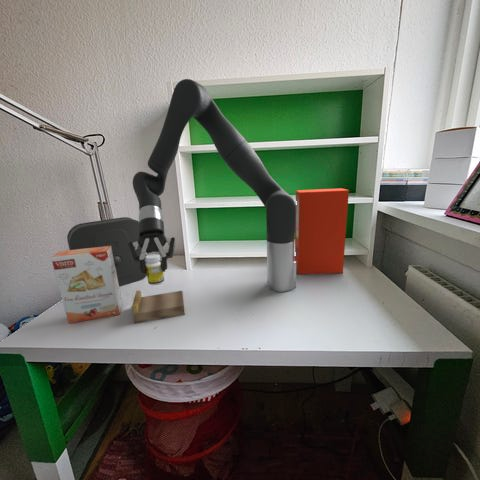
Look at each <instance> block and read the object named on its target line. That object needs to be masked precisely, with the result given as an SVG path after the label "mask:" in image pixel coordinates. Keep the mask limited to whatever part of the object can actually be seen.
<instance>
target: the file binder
mask: <svg viewBox="0 0 480 480" xmlns="http://www.w3.org/2000/svg"><path fill="white" fill-rule="evenodd" d="M349 192H350V190H349V189H345V188H323V189H322V188H321V189H302V190H301V189H299V190H295V202H296V201H297V205H296V204H295V205H296V224H295V234H294V253H295V252H296V256H295V255H294V261H295V262H296V274H297V275H319V274H320V275H321V274H344V264H345V263H344V261H345V249H346V248H345V247H346V235H347V224H348V223H347V222H348V221H347V220H348V207H349V194H350V193H349Z"/></svg>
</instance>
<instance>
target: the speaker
mask: <svg viewBox="0 0 480 480" xmlns="http://www.w3.org/2000/svg"><path fill="white" fill-rule="evenodd" d="M66 239H67V240H66V241H67V244H68V250H75V249H85V248H94V247H104V246H111V248H112V253H113V258H114V263H115V268H116V273H117V278H118V284H119V288H120V287H123V286H126V285H130V284H133V283H136V282H138V281H141V280H144V279H145V278H147V272H146V274H143V273H142V272H141V270H140V262H135V261H134V259H133V256H132V254H131V251H130V248H129V245H128V243H129V242H132V243H134V242H137V241H138V239H139V220H138V219H137V220H136V219H134V218H131V217H126V216H124V217H116V218H108V219H102V220H95V221H89V222H84V223H83V222H82V223H78V224H75V225H74V226H73V227H71V228H70V229H69V231H68V233H67V236H66ZM135 251H136V253H137V256H140V255H141V251H142V248H141V247H140V246H139V245H138V246H137V249H136V250H135ZM148 255H150V253H149V254H148ZM145 262H146V261H145Z"/></svg>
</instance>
